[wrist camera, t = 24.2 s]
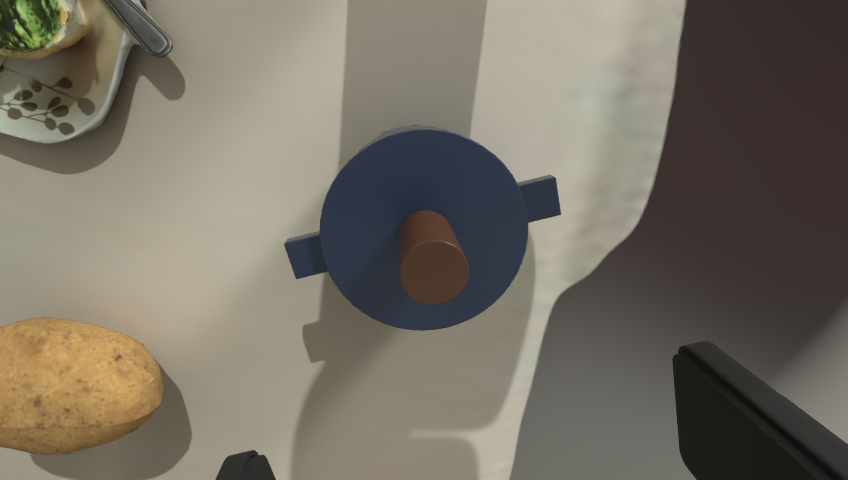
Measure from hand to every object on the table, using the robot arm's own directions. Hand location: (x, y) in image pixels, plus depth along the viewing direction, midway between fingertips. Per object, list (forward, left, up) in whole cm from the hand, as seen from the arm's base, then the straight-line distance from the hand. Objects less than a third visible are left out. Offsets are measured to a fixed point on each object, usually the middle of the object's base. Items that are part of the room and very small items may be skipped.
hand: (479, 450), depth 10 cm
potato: (+6, -28, -26) cm, 39 cm away
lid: (0, 0, -18) cm, 18 cm away
